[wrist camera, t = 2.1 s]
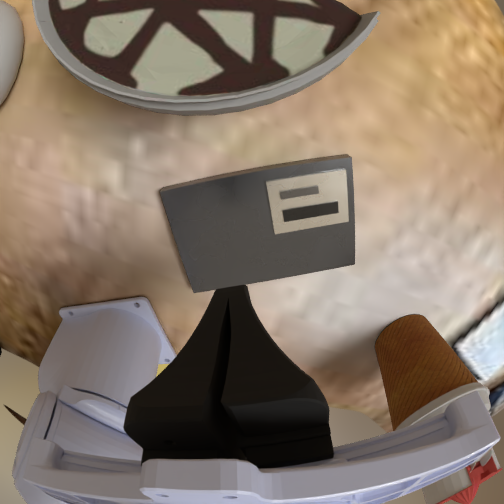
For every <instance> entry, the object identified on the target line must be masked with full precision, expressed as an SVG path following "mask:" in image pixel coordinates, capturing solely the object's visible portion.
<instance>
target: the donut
mask: <svg viewBox="0 0 504 504" xmlns="http://www.w3.org/2000/svg"><path fill="white" fill-rule="evenodd" d="M23 45H24V34H23V24H22V21H21V19H20V17H19V15H18V13H17V11H16V9H15V8H14V7H13V6H11V5H9V4H8V3H6V2H4V1H2V0H0V105H1V104H2V102H3V101H4V100H5V99H6V97H7V96H8V94H9V92H10V90H11V87H12V85H13V83H14V82H15V80H16V77H17V73H18V70H19V66H20V63H21V60H22V53H23Z"/></svg>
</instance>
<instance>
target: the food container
mask: <svg viewBox="0 0 504 504" xmlns="http://www.w3.org/2000/svg"><path fill="white" fill-rule="evenodd" d="M32 5H33V10H34V15H35V20H36V24H37V26H38V28H39V31H40V33H41V35H42V38H43V40H44V41H45V43H46V44H47V46H48V48H49V49H50V50H51V52H52V53H53V55H54V56H55V57H56V59H57V60H58V61H59V63H60V64H61V65H62V66H63V67H64V68H65V69H66V70H67V71H69V72H70V73H71V74H72V75H73V76H74V77H75V78H76V79H78V80H79V81H81V82H82V83H84V84H86V85H87V86H89V87H91V88H92V89H94V90H95V91H97V92H99V93H102V94H104V95H106V96H108V97H111V98H113V99H116V100H118V101H121V102H123V103H125V104H128V105H130V106H133V107H137V108H141V109H145V110H149V111H153V112H157V113H166V114H175V115H184V116H189V115H217V114H224V113H231V112H239V111H244V110H248V109H252V108H255V107H259V106H263V105H267V104H271V103H273V102H276V101H278V100H281V99H283V98H286V97H288V96H291V95H293V94H296V93H298V92H300V91H301V90H303V89H305V88H307V87H309V86H310V85H312V84H314V83H316V82H318V81H319V80H321V79H322V78H324V77H325V76H326V75H327V74H329V73H330V72H331V71H333V70H334V69H335V68H337V67H338V66H339V65H341V64H342V63H343V62H344V61H345V60H346V59H347V58H348V57H349V56H350V54H351V53H352V52H353V51H354V50H355V49H356V48H357V47H358V46H359V45H360V44H361V43H362V42H363V41H364V40H365V39H366V38H367V37H368V35H369V34H370V32H371V31H372V29H373V28H374V27H375V25H376V24H377V22H378V20H377V19H376V18H377V17H378V16H379V14H380V12H379V11H377V12H372V13H367V14H363V15H359V14H357V13H356V12H354V11H353V10H351V9H349V8H348V7H347V6H345V5H344V4H342V3H340V2H338V1H336V0H32Z"/></svg>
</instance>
